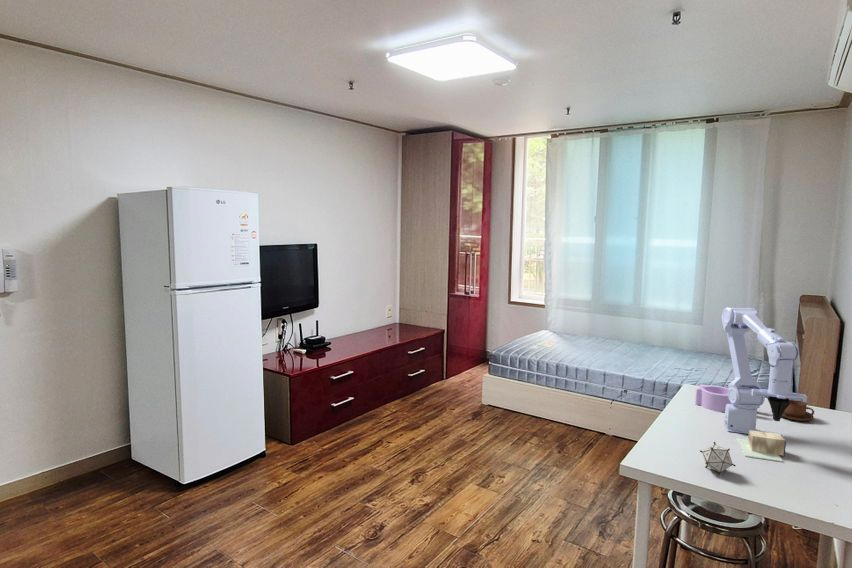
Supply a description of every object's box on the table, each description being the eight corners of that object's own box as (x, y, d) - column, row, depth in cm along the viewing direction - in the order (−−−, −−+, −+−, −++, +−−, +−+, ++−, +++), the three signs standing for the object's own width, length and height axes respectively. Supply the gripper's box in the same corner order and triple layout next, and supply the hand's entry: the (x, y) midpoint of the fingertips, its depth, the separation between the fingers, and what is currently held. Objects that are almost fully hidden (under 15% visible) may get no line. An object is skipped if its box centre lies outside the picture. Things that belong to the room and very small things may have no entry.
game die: (710, 479, 151) (704, 445, 155) (741, 478, 145) (734, 443, 150) (699, 473, 145) (694, 439, 150) (731, 471, 140) (724, 436, 145)
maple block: (784, 455, 157) (751, 450, 161) (780, 449, 162) (748, 444, 165) (786, 440, 157) (752, 436, 160) (781, 434, 161) (749, 430, 165)
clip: (756, 410, 198) (757, 393, 197) (751, 419, 189) (752, 401, 188) (700, 398, 211) (701, 382, 210) (693, 406, 202) (694, 390, 201)
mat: (745, 456, 157) (745, 455, 157) (736, 439, 170) (736, 438, 170) (782, 462, 154) (782, 460, 154) (770, 443, 167) (770, 442, 167)
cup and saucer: (810, 415, 193) (811, 400, 192) (815, 426, 182) (817, 409, 182) (772, 409, 199) (774, 394, 198) (775, 419, 188) (777, 403, 188)
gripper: (756, 380, 158) (752, 421, 159) (811, 385, 152) (807, 428, 154) (751, 373, 164) (748, 413, 166) (804, 379, 159) (800, 420, 161)
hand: (776, 420), depth 160 cm, fingers closed
